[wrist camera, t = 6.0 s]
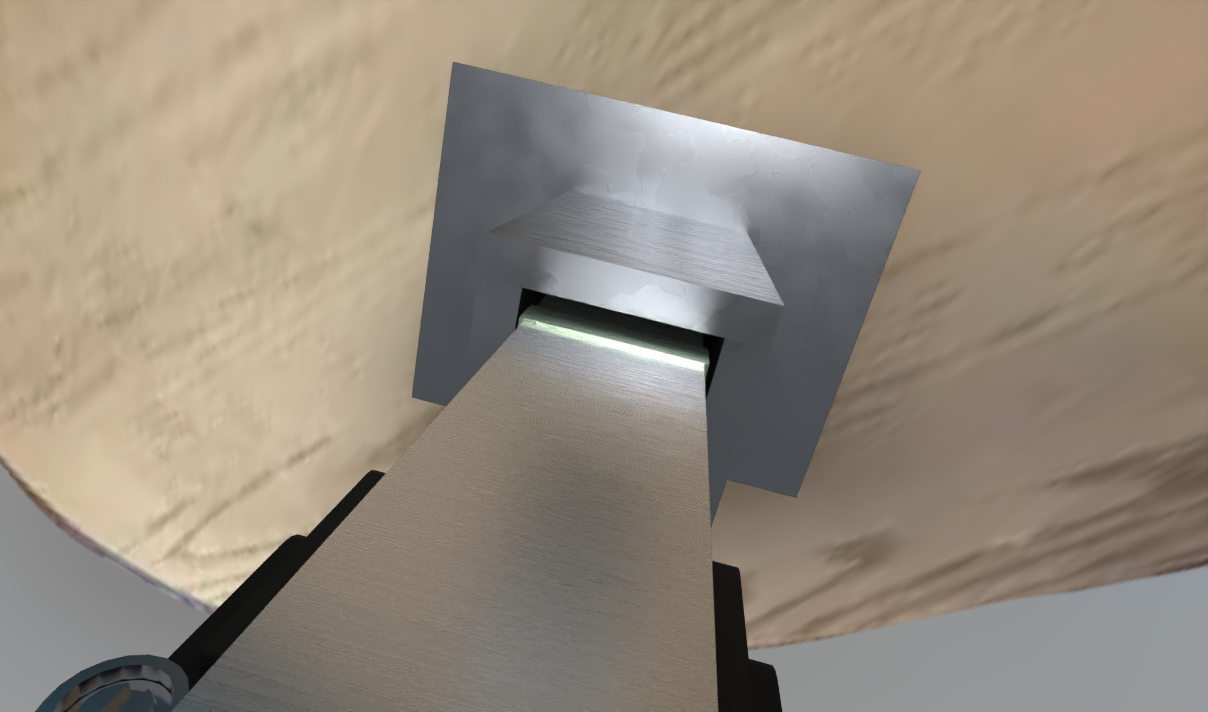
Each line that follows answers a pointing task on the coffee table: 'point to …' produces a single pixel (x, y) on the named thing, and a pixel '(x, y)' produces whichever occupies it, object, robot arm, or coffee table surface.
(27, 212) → the coffee table surface
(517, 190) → the stand housing
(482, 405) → the column
